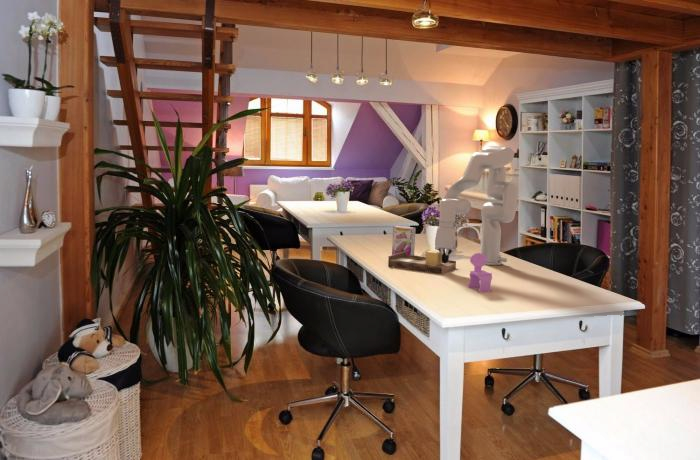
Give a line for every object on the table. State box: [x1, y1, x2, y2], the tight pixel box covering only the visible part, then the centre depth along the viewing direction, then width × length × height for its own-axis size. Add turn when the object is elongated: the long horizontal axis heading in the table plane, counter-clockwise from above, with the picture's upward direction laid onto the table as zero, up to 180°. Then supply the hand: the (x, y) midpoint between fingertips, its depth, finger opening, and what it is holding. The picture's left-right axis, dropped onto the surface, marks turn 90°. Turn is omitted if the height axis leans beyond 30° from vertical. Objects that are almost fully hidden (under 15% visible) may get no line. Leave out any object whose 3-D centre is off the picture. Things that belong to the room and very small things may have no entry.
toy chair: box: [467, 252, 493, 293], centre depth 252 cm, size 8×9×15 cm
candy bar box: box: [391, 225, 416, 256], centre depth 320 cm, size 11×5×16 cm, turn 58°
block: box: [425, 249, 442, 266], centre depth 292 cm, size 6×6×6 cm
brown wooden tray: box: [387, 251, 457, 275], centre depth 296 cm, size 28×18×5 cm, turn 58°
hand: (444, 262), depth 289 cm, fingers closed
